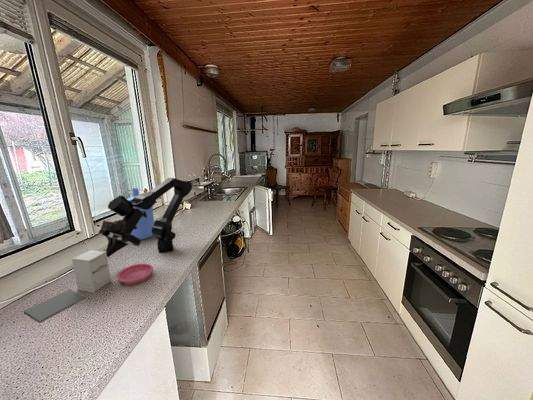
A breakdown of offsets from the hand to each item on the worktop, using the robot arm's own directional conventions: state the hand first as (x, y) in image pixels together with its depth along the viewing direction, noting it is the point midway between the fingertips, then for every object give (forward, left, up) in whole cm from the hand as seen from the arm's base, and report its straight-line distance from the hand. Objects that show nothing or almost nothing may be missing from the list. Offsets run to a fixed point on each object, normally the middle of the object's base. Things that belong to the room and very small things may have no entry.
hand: (106, 256), depth 87 cm
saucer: (-10, +3, -10) cm, 14 cm away
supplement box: (+4, +4, -10) cm, 11 cm away
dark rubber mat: (+12, +12, -9) cm, 20 cm away
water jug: (-5, -45, -10) cm, 46 cm away
